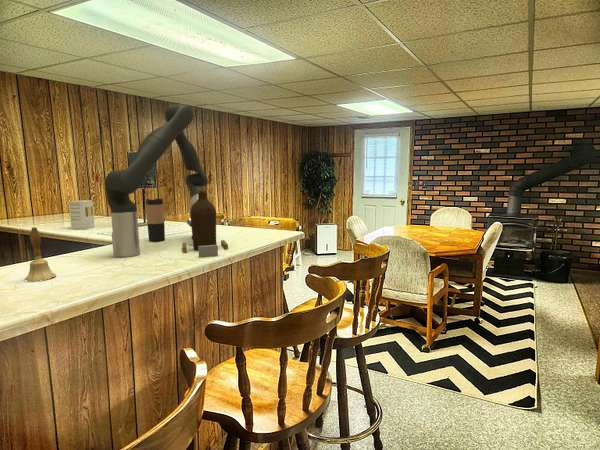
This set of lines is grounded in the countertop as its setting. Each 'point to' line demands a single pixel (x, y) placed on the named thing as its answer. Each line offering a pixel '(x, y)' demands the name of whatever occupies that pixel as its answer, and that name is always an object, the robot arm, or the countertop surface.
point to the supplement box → (81, 214)
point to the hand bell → (38, 261)
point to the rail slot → (221, 244)
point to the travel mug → (155, 220)
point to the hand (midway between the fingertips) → (203, 236)
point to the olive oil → (203, 221)
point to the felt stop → (208, 250)
